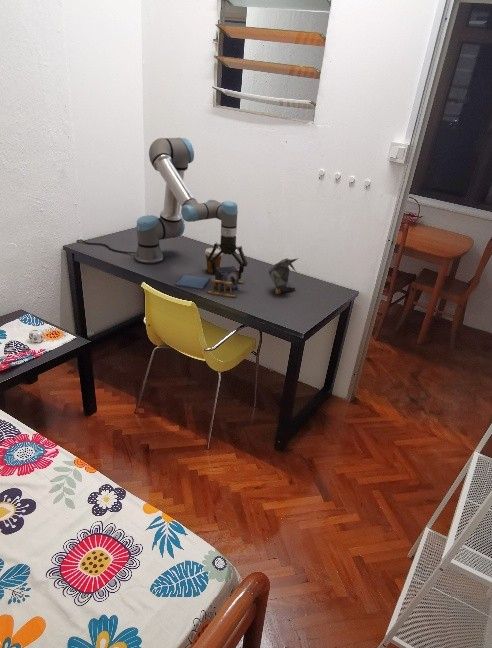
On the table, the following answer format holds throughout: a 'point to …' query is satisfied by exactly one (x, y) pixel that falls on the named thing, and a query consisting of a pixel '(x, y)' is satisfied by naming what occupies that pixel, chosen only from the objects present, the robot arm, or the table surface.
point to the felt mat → (192, 281)
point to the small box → (226, 277)
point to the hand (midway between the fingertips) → (226, 276)
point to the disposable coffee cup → (208, 252)
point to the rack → (224, 287)
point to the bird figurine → (281, 275)
